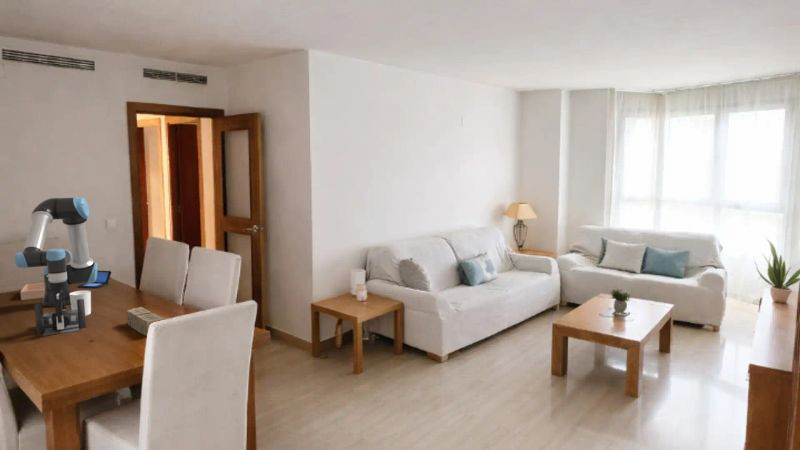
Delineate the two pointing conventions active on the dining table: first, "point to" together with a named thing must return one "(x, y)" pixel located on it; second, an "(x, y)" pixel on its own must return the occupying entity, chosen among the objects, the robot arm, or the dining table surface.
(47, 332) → the mat
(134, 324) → the block tower
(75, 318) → the breaker panel
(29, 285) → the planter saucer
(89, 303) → the candle holder
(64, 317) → the black rounded block
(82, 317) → the post
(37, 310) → the post
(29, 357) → the dining table surface
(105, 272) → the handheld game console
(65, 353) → the dining table surface
